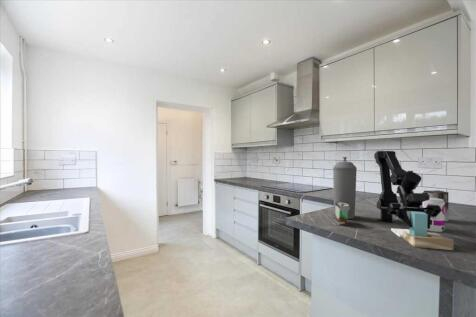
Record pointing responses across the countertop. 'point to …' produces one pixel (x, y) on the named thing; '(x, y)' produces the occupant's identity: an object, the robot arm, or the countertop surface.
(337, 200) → the canister
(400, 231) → the white pad
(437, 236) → the offcut top
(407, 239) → the oak rack
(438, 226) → the supplement can
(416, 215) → the teal rectangular block
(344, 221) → the food container
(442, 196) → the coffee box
